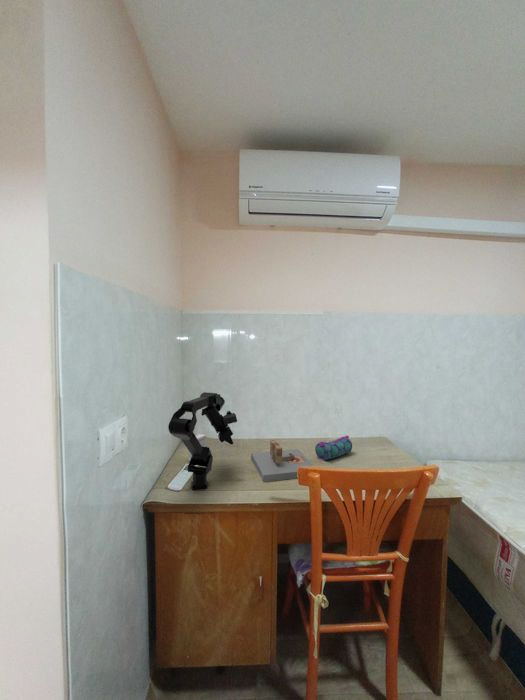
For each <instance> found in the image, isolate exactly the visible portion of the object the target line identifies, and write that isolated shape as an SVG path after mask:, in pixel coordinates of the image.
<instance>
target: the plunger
mask: <svg viewBox="0 0 525 700" xmlns="http://www.w3.org/2000/svg"><path fill="white" fill-rule="evenodd" d="M269 442H270V444H269V448H270V449H269V451H270V455H271V456H272V457H273V459H274V460H275V462H276V463H277V464H278V463H282V460H287V459H291V461H292V460H294V455H293V454H292V453H290V454H289V455H283V456H282V450H283V447H282V446H281V445H280V444H279V443H278V442H277V440H276V439H272V440H270V441H269Z"/></svg>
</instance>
